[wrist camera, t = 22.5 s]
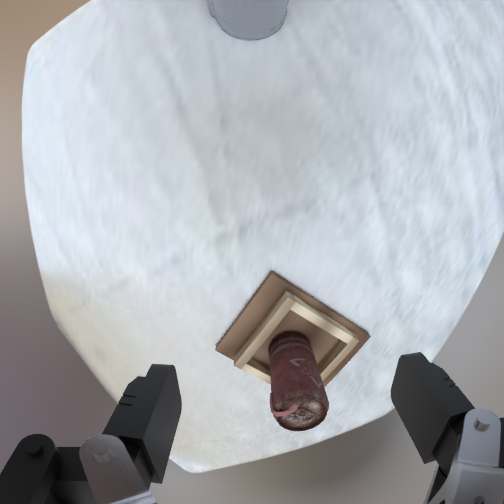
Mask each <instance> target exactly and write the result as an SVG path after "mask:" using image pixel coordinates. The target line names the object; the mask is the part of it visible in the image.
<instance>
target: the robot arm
mask: <svg viewBox="0 0 504 504" xmlns="http://www.w3.org/2000/svg"><path fill="white" fill-rule="evenodd" d="M206 1H207V4H208V8H209V11H210V15H211V16H213V17H215V18H216V19H217V21H218V23H219V25H220V27H221V28H222V29H223V30H224V31H225V32H226V33H228V34H229V35H231V36H233V37H236V38H239V39H245V40H257V39H262V38H265V37H268V36H270V35H272V34H274V33H275V32H277V31H278V30H279V29H280V28H281V26H282V25H283V22H284V20H285V16H286V12H287V6H288V2H289V0H206ZM391 399H392V402H393V404H394V406H395V408H396V410H397V412H398V413H399V415H400V417H401V419H402V421H403V423H404V425H405V427H406V429H407V431H408V433H409V435H410V436H411V438H412V440H413V442H414V444H415V446H416V448H417V450H418V452H419V454H420V456H421V458H422V460H423V462H424V464H426V463H429V462H432V461H435V460H436V461H437V462H438V465H437V467H436V469H435V471H434V474H433V478H432V481H431V484H430V486H429V490H428V492H427V495H426V498H425V500H424V503H423V504H504V418H499V417H498V416H497V415H496V414H495V413H494V412H492V411H491V410H489V409H485V408H474V406H473V405H472V404H471V403H470V401H469V400H468V399H467V398H466V396H465V395H464V394H463V393H462V391H461V390H460V389H459V388H458V387H457V386H455V383H454V382H453V381H452V379H450V377H449V376H448V374H447V373H446V372H445V371H444V370H443V369H442V368H440V367H439V366H437V365H435V364H434V363H430V362H429V361H428V360H427V359H426V357H425V356H424V355H423V354H422V353H421V352H418V353H412V354H405V355H401V357H400V358H399V361H398V365H397V369H396V373H395V376H394V380H393V384H392V387H391ZM181 407H182V402H181V395H180V390H179V385H178V380H177V374H176V369H175V367H174V365H164V364H152V365H151V367H150V369H149V371H148V373H147V375H146V377H141V376H138V377H137V378H136V379H134V380H133V381H132V382H131V383H129V384H128V386H127V388H126V389H125V391H124V393H123V396H122V397H121V399H120V401H119V405H118V404H117V407H116V408H115V410H114V412H113V414H112V416H111V418H110V420H109V422H108V424H107V426H106V427H105V429H104V431H103V433H102V435H96V436H93V437H91V438H89V439H87V440H86V441H85V442H84V443H83V444H82V446H81V447H56V446H55V444H54V442H53V441H52V440H51V439H50V438H49V437H48V436H46V435H42V434H32V435H29V436H27V437H25V438H24V439H22V440H21V441H20V442H19V444H18V445H17V447H16V449H15V450H14V452H13V454H12V455H11V457H10V459H9V460H8V462H7V464H6V465H5V467H4V469H3V471H2V472H1V474H0V504H157V503H156V501H155V499H154V498H153V496H152V495H151V493H150V492H149V487H150V484H151V482H154V483H160V484H162V481H163V478H164V474H165V470H166V466H167V462H168V459H169V455H170V451H171V447H172V444H173V440H174V436H175V433H176V429H177V425H178V422H179V418H180V415H181Z"/></svg>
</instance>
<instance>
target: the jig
mask: <svg viewBox="0 0 504 504" xmlns="http://www.w3.org/2000/svg"><path fill="white" fill-rule="evenodd" d="M286 332H297V333H300V334H302V335H304V336H306V337H307V338H308V340H309V341H310V344H311V346H312V350H313V353H314V356H315V359H316V362H317V366H318V369H319V372H320V375H321V379H322V382H323V385H324V387H325V386H326V385H327V384H328V383H329V382H330V381H331V380H332V379H333V378H334V377H335V376H336V375H337V374H338V373H339V371H340V370H341V369H342V368H343V367H344V366H345V365H346V364H347V363H348V362H349V361H350V360H351V358H352V357H353V356H354V355H355V354H356V353H357V352H358V351H359V349H360V348H361V347H362V346H363V345H364V344H365V342H366V341H367V340H368V339H369V338H370V337H371V336H370V335H369V333H368V332H366V331H365V330H363V329H362V328H360V327H358V326H357V325H355V324H354V323H352V322H351V321H349V320H347V319H346V318H344V317H343V316H341V315H340V314H338V313H337V312H335V311H333V310H332V309H330V308H329V307H327V306H326V305H324V304H322V303H321V302H319V301H318V300H316V299H315V298H313V297H312V296H310V295H308V294H307V293H305V292H304V291H302V290H301V289H299V288H298V287H296V286H294V285H293V284H291V283H290V282H288V281H287V280H285V279H284V278H282V277H280V276H279V275H277V274H276V273H274V272H273V271H271V272H270V273H269V275H268V276H267V277H266V279H265V280H264V282H263V283H262V284H261V286H260V287H259V289H258V290H257V291H256V293H255V294H254V295H253V297H252V298H251V299H250V301H249V302H248V304H247V305H246V306H245V308H244V309H243V310H242V312H241V313H240V314H239V316H238V317H237V318H236V320H235V321H234V323H233V324H232V325H231V327H230V328H229V329H228V331H227V332H226V333H225V335H224V336H223V337H222V339H221V340H220V341H219V343H218V344H217V345H216V349H215V350H216V351H218V352H220V353H221V354H223V355H225V356H227V357H229V358H230V359H232V360H234V366H236V367H238V368H240V369H241V370H243V371H245V372H247V373H249V374H251V375H253V376H255V377H257V378H259V379H261V380H263V381H265V382H267V383H269V384H271V378H270V365H269V352H268V349H269V346H270V343H271V342H272V341H273V339H274V338H276V337H277V336H278V335H280V334H283V333H286Z"/></svg>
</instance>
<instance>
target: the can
mask: <svg viewBox="0 0 504 504" xmlns="http://www.w3.org/2000/svg"><path fill="white" fill-rule="evenodd" d="M268 352H269V365H270V378H271V391H272V393H271V394H270V407H271V412H272V413H273V416H274V417H275V419H276V421H277V422H278V423H279V425H280V426H282V427H283V428H285V429H287V430H290V431H305V430H308V429H312V428H314V427H316V426H317V425H319V424H320V423H321V422H322V421H323V420H324V419H325V417H326V415H327V411H328V408H329V402H328V398H327V395H326V392H325V388H324V385H323V382H322V379H321V375H320V372H319V369H318V366H317V362H316V359H315V356H314V353H313V350H312V346H311V344H310V341H309V340H308V338H307V337H306V336H304V335H302V334H300V333H297V332H286V333H283V334H280V335H278V336H277V337H276V338H274V339H273V341H272V342H271V343H270V346H269V349H268Z"/></svg>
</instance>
